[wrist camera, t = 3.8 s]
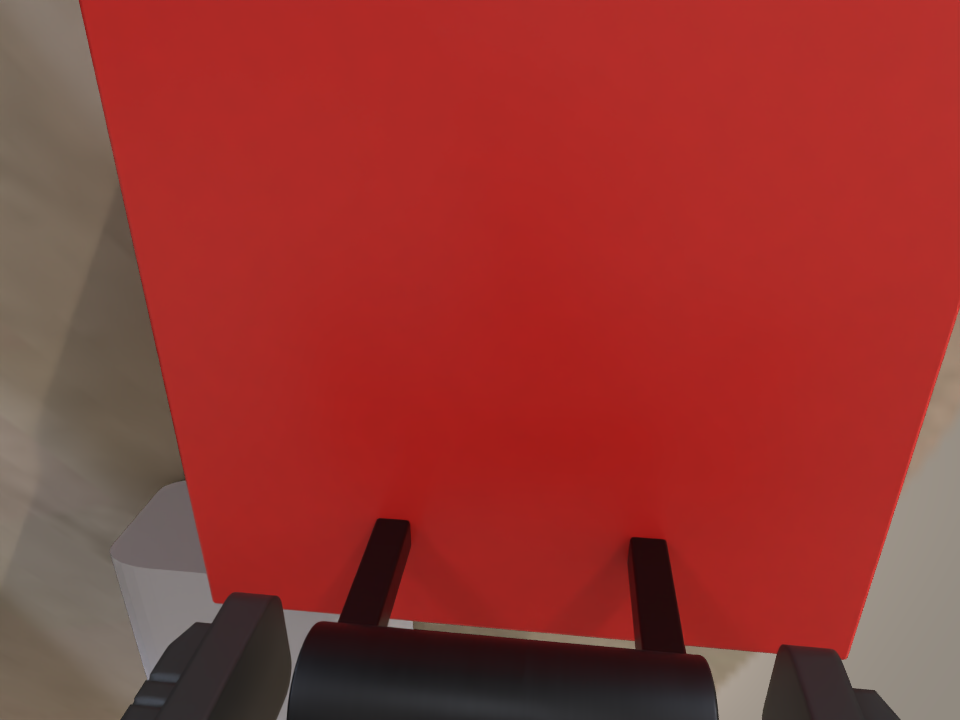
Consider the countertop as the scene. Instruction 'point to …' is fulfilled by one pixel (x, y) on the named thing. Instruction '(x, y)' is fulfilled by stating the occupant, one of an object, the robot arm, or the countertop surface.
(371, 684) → the red box lid
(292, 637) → the charger
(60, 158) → the countertop surface
